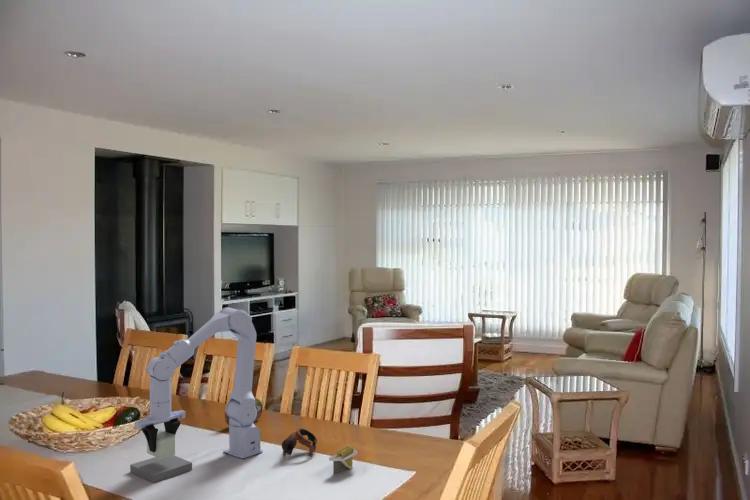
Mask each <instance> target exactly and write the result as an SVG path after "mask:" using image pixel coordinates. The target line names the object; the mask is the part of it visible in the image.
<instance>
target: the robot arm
mask: <svg viewBox="0 0 750 500" xmlns="http://www.w3.org/2000/svg"><path fill="white" fill-rule="evenodd" d="M252 321H253V317H252V316H251V315H250V314H249V313H248V312H246V310H244V309H237V308H232V307H229V306H228V307H223V308H222V309H221V310H220V311H218V312H216V313H215V314H214V315H213V316H212V317H211V318H210V319H209V320H208V321H207V322H206V323H204V325H202V326H201V327H200V328H199V329H198V330H196V331H195V332H194V333H193V334H192V335H191V336H190V337H188V338H187V339H183V338H181V339H179V340H177V339H176V340H174V341H173V345H171V346H170V347H169V348H168V349H167V350H165V351H164V352H163V351H162V352H160V353H159V356H157V357H156V356H155V357H153V358H151V359H150V360H149V362H148V364H147V367H145V371H146V373H147V374H148V375H149V416H146V417H145V418H141V419H139V420H135V421H134V429H136V430H141V432H142V433H143V434H144V437H145V439H146V443H147V442H148V445H149V449H150V451H152V452H156V438H157V432H158V431H159V428H156V426H155V425H159V424H163V427H164V431H166V432H168V433H171V434H174V435H175V436H176V433H177V432H178V430H179V428H180V426H181V420H179V419H185V418H186V411H185V410H182V409H180V410H175V411H172V378H173V376H174V374H175V372H176V371H175V370H177V368H179V367H180V366H181V365H183V364H185V362H186V361H188V360H189V359H190V358H191V357H193V356H194V355H195V350H196V348H197V347H199V346H200V345H201V344H203V343H204V342H205V341H208V340H209V339H210V338H211V337H213V336H214V335H216V334H217V333H222V332H231V333H232V334H233V335H234V336H235V338H236V339H237V348H236V349H237V350H236V360H235V372H234V382H233V390H232V392H231V393H230V394H229V398H228V401H227V404H226V405H225V411H226V414H227V416H228V417H229V425H228V426H229V427H228V433H229V434H228V437H229V438H228V440H229V441H228V442H229V445H228V447H229V448H226V449H223V453H226V454H229V455H231V456H234V457H237V458H239V459H246V458H249V457H252V456H254V455H257V454H261V453H263V450H262V449H261V430H260V428H259V427H257V426H256V425H255V424H254V423H255V422H253V421H254V420H255V419H256V416H257V409H256V407H255V398H256V397H255V396H254V394H253V391H252V390H253V379H254V367H255V357H256V344H257V331H256V328H255V325H254V323H253V322H252Z"/></svg>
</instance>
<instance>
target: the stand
mask: <svg viewBox="0 0 750 500" xmlns="http://www.w3.org/2000/svg"><path fill="white" fill-rule="evenodd" d="M129 467H130V469H129V471H130V473H132V474H134V475H136V476H139V477H140V478H143V479H145V480H147V481H148V482H150V483H153V484H154V483H156V482H160V481H162V480H163V481H164V480H165V479H168V478H172V477H175V476H177V475H178V476H179V475H180V474H183V473H187V472H190V471H192V470H193V462H191V461H189V460H187V459H184V458H181V457H179V456H177V455H176V454H175V455H172V456H168V457H165V458H162V459H160V458H157V457H155V456H153V457H151V458H148V459H144V460H142V461H141V460H140V461H138V462H134V463H132V464H130V465H129Z"/></svg>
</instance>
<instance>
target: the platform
mask: <svg viewBox="0 0 750 500" xmlns="http://www.w3.org/2000/svg"><path fill="white" fill-rule="evenodd" d="M356 455H358V450H356V449H355V448H354V445H350V444H348V445H346V446H344V447H341V448H340V449H337V450H336V454H334V455H331V456H329V457H328V461H331V462H333V463H332V464H333V465H332V466H333V469H332V470H333V471H332V472H333V475H335V474H338V473H339V472H341V471H343V470H344V469H347V468H349V470H350V469H353V457H354V456H356Z"/></svg>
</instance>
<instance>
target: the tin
mask: <svg viewBox="0 0 750 500" xmlns="http://www.w3.org/2000/svg"><path fill="white" fill-rule="evenodd" d="M254 398H255V407H256V409H257V416H256V419H255V420H254V421H253V423H255V422H256V421H258V420H259V419H260V418H261V416H262V413H263V403H262V402H261V400H260V399H259V398H256V397H254ZM224 420H225V421H224V422H225V423H226V424H227V425H228V426H229V417H228V416H227V414H226V410H225V411H224Z"/></svg>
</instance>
